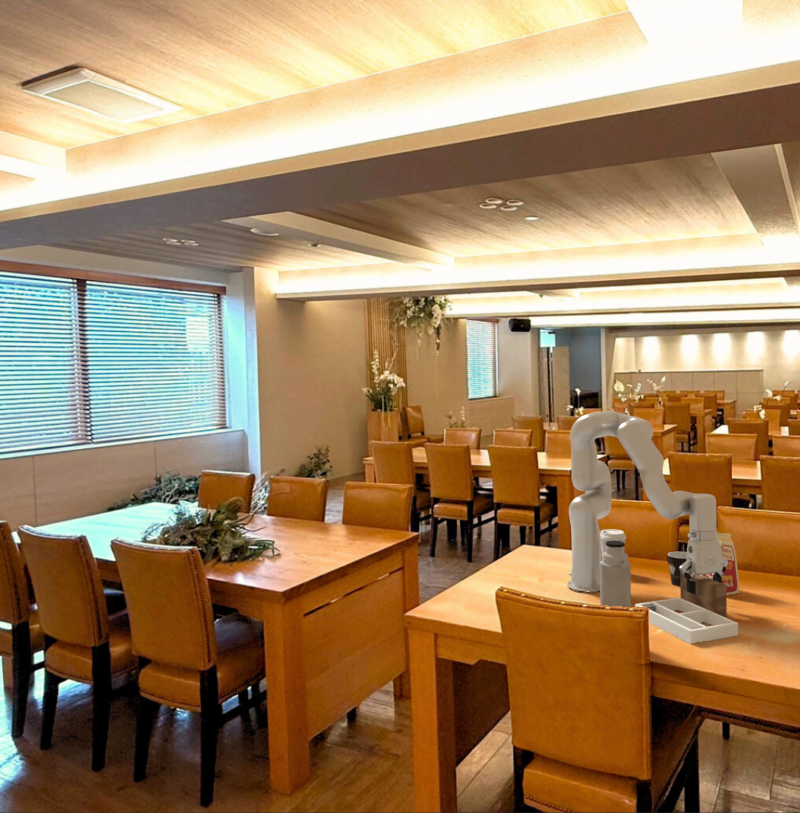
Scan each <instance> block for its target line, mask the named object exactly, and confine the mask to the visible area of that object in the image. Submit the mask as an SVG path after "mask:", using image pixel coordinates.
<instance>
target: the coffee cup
mask: <svg viewBox="0 0 800 813" xmlns="http://www.w3.org/2000/svg"><path fill="white" fill-rule="evenodd" d="M600 536H601V557H602V556H603V553H604V552H606V542H607V541H613V540H614V541H622V542H624V543H625V544H626V539H627V536H626V534H625V532H624V531H623V530H621V529H615V528H613V529H612V528H609V529H608V528H607V529H602V530H600ZM601 560H603V559H602V558H601Z"/></svg>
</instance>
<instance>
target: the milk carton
mask: <svg viewBox="0 0 800 813" xmlns="http://www.w3.org/2000/svg"><path fill="white" fill-rule="evenodd" d="M731 536H732V533H721V532H718V531H717V539H719V542H720V545H721V551H722V558H724V559H726V560H728V564H727V567H726V570H725V572H724V575H723V576H722V584H725V585H727V596H730V595H729V594H732V595H736V593H737V594H740V582H739V580H740V579H739V571H738V570H739V569H738V561H737V555H736V549H735V548H736V547H735V544H734V542H733V540H732V538H731ZM713 574H714V573H710V574H704V575H701V576H704V577H706V578H709V579H712V580H713Z"/></svg>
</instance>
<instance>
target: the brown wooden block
mask: <svg viewBox="0 0 800 813" xmlns="http://www.w3.org/2000/svg"><path fill="white" fill-rule="evenodd" d="M680 574H681V572H680ZM691 575H692V574H691ZM691 575H690V576H691ZM694 581H695V582H696V594H692V593H689V592H687V579H685V578H684V576H683V575H682V574H681V587H680V598H682V599H684V600H686V601H688V602H691V603H693V604H695V605H698V606H700V607H702V608H704V609H707V610H709V611H711V612H714V613H716V614H718V615H721V616H723V617H725V618H727V615H728V614H727V609H728V608H727V603H728V602H727V596H728V595H727V585H725V584H722V583H720V582H717V581H714V580H712V579H709V578H706V577H704V576H702V575H698V574H697V576H696V577H695V579H694Z"/></svg>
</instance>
